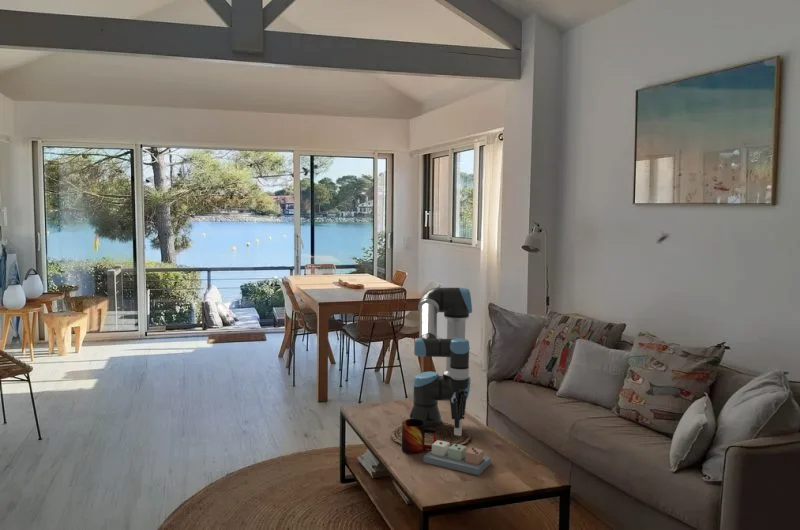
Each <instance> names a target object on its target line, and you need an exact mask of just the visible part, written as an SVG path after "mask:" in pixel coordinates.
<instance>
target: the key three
mask: <svg viewBox="0 0 800 530" xmlns="http://www.w3.org/2000/svg"><path fill="white" fill-rule="evenodd" d="M484 451H485V450H484V449H480V448H476V447H470V448H468V449H466V453H465V462H467V463H471V464H475V465H480V463H481V462H482V461H483V457H484V456H485V455H484V453H485V452H484Z"/></svg>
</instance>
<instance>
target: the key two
mask: <svg viewBox="0 0 800 530" xmlns="http://www.w3.org/2000/svg"><path fill="white" fill-rule="evenodd" d="M466 451H467V445H462V444H458V443H453V444H452V445H450V447H449V448H448V458H450V459H454V460H458V461H462V459H464V458H465V453H466Z"/></svg>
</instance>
